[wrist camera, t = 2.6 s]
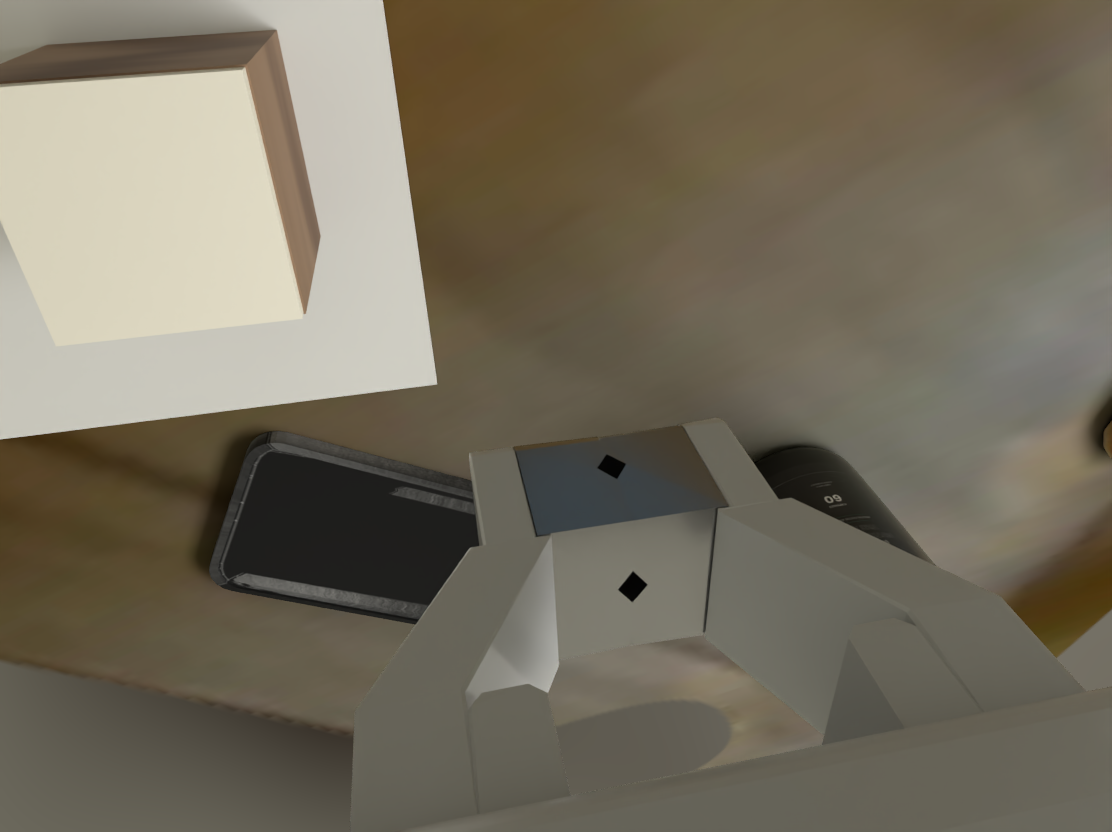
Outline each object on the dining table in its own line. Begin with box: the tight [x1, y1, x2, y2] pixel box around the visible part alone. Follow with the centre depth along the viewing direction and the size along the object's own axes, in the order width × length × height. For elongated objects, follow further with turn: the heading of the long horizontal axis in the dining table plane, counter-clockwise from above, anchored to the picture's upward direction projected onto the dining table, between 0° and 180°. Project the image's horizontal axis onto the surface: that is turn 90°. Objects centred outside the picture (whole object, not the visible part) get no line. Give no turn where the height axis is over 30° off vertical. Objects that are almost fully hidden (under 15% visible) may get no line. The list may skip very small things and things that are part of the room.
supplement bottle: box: [755, 447, 936, 566], centre depth 31 cm, size 7×7×12 cm
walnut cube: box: [0, 30, 321, 346], centre depth 20 cm, size 6×6×6 cm
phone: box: [209, 431, 479, 624], centre depth 33 cm, size 8×1×15 cm
